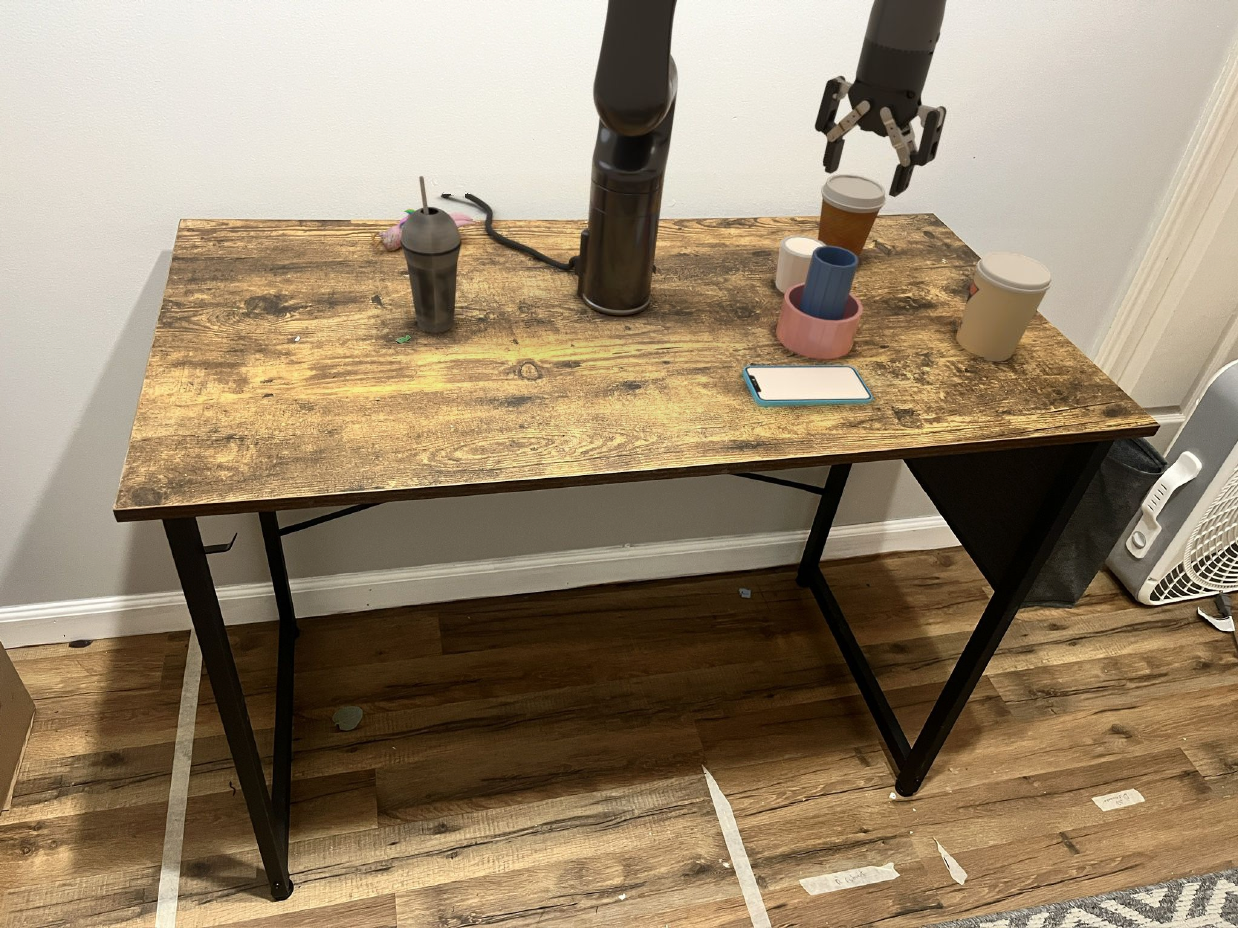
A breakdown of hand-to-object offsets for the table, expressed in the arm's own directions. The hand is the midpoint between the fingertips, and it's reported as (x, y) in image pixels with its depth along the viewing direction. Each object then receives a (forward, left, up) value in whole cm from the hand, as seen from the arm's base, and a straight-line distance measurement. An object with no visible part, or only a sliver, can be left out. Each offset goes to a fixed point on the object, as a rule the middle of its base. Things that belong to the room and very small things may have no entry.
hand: (862, 183), depth 105 cm
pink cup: (-1, -1, -22) cm, 22 cm away
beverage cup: (-41, -31, -22) cm, 56 cm away
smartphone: (+3, -12, -22) cm, 25 cm away
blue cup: (-1, -1, -22) cm, 22 cm away
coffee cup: (+18, +14, -22) cm, 32 cm away
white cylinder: (-9, +10, -22) cm, 26 cm away
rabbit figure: (-57, -16, -22) cm, 63 cm away
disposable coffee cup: (-8, +23, -22) cm, 33 cm away
